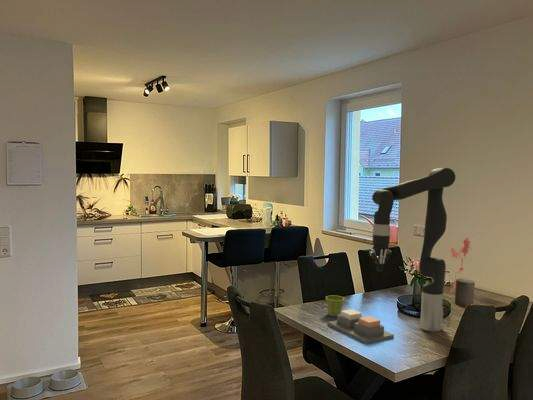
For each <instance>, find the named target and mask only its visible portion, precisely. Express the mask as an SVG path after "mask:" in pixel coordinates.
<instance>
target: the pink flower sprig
mask: <svg viewBox="0 0 533 400" xmlns="http://www.w3.org/2000/svg"><path fill="white" fill-rule="evenodd" d="M462 241H463V242H462V243H463V245H462V247H461V248H460V250H459V251H456V249H455V248H453V247H450V253H451V256H452V258H456V259H458V257H459V258H460V259H461V264H463V263H464V262H463V260H464V259H463V258H462V256H461V254H463V257H466V254H469V249H470V250H471V251H473V250H472V248H471V247H470V244H471V243H470V240H469V237H468V236H466V238H465V239H463V240H462ZM463 270H464V267H463V265H460V266H458V271H457V272H456V273H455V277H454V279H455V280H454V283H453V287H452V288H451V290H450V291H449V292H450V293H452V292H453V290H455V291H456V279H457V274H458V273H461V272H462V271H463ZM446 294H449V293H448V292H446Z"/></svg>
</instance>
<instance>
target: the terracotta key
mask: <svg viewBox="0 0 533 400" xmlns="http://www.w3.org/2000/svg"><path fill="white" fill-rule="evenodd" d="M361 317H362V318H359V321H358V324H360V325H362V326H364V327H367V328H373V327H378V326H380V325H381V320H380V319H378V318H375V317H373V316H370V315H368V316H361Z"/></svg>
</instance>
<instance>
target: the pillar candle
mask: <svg viewBox="0 0 533 400" xmlns="http://www.w3.org/2000/svg"><path fill="white" fill-rule="evenodd" d="M475 283H476V281H475V280H473V279H470V278H466V277H465V278H461V277H459V278H456V290H455V292H454V294H455V295H454V305H457V306H459V307H464V306H465V307H466V306H467V305H471V304H473V305H474V298H475V292H474V291H475V285H476V284H475Z"/></svg>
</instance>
